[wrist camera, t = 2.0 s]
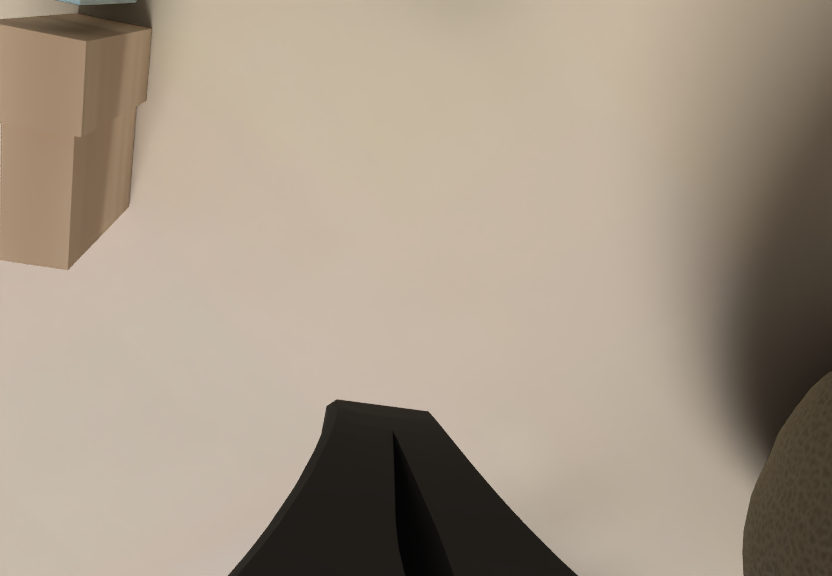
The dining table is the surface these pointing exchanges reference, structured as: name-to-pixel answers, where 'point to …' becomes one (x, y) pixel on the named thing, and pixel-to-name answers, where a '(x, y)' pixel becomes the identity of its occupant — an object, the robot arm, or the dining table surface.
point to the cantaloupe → (795, 495)
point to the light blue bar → (97, 1)
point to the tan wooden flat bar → (66, 132)
